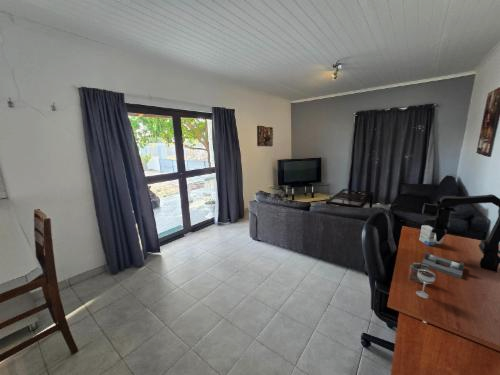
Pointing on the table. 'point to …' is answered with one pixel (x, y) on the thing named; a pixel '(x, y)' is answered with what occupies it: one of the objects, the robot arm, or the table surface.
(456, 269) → the shaft mount
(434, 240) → the coupler
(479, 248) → the robot arm
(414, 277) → the grey box
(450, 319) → the table surface
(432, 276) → the wineglass
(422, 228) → the ink box
